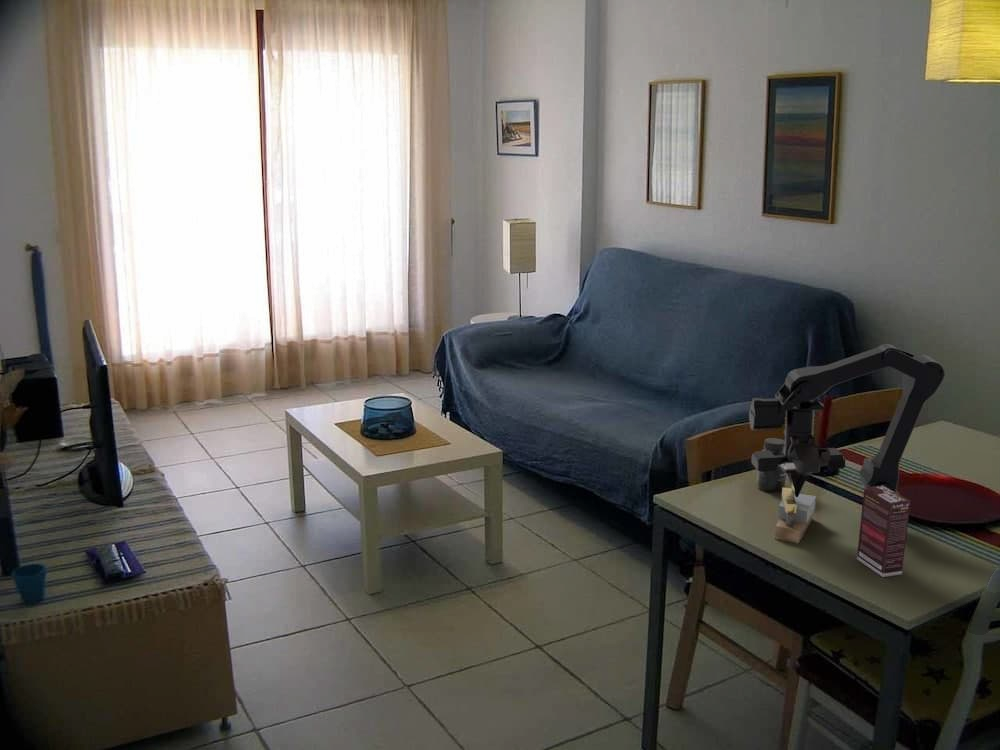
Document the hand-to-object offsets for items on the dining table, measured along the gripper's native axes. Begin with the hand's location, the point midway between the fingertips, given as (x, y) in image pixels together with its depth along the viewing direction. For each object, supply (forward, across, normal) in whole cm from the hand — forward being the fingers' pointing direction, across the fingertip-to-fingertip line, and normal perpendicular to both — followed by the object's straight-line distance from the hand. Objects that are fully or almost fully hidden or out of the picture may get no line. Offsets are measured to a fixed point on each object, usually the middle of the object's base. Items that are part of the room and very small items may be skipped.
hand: (796, 496), depth 210 cm
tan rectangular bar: (+1, -2, -2) cm, 3 cm away
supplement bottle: (+7, +1, +23) cm, 24 cm away
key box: (+7, 0, -1) cm, 7 cm away
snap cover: (+4, 0, +1) cm, 4 cm away
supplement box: (+8, +11, -19) cm, 23 cm away
